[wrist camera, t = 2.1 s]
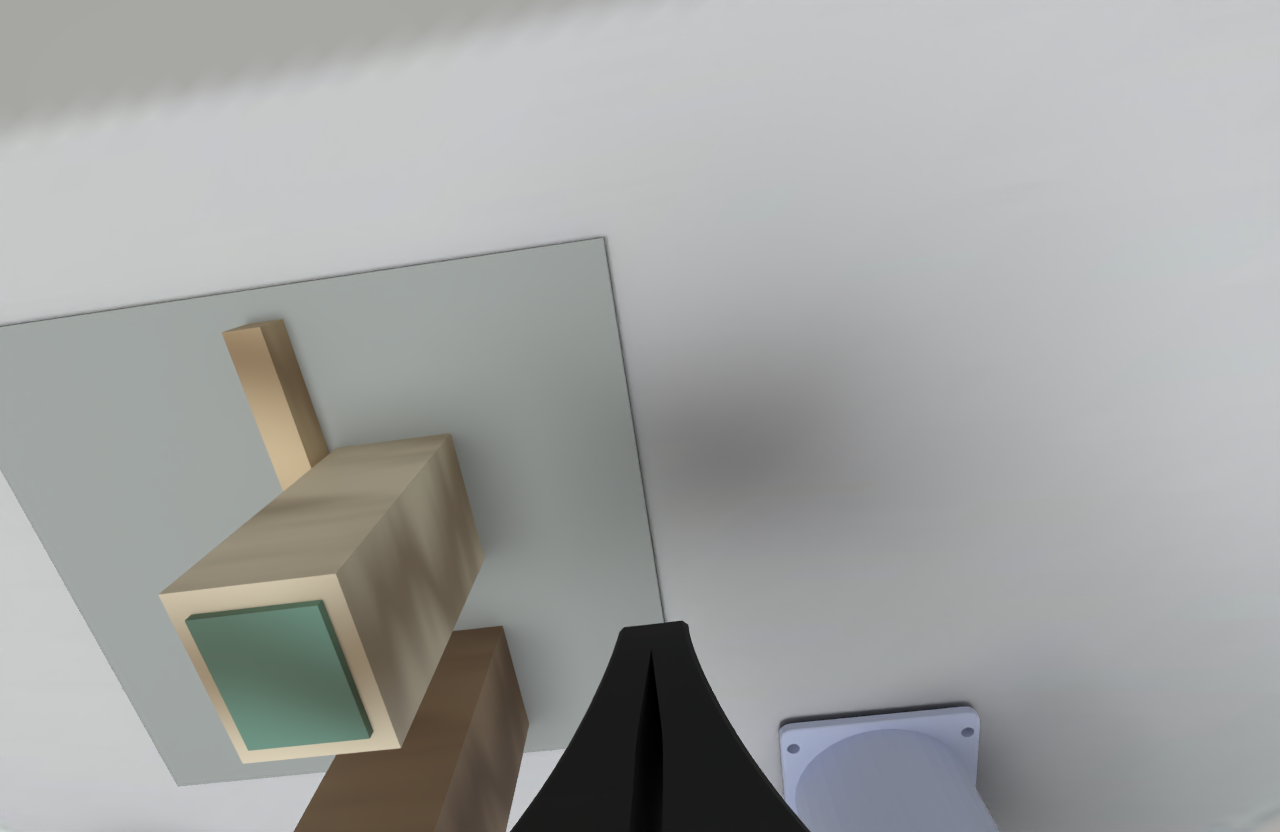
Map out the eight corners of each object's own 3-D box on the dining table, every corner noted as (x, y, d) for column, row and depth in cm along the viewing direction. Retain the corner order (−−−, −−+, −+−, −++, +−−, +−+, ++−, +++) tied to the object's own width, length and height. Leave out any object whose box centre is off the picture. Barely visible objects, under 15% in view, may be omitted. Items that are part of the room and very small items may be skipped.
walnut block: (529, 724, 25) (478, 955, 17) (434, 733, 25) (344, 965, 18) (502, 625, 23) (433, 834, 16) (401, 636, 23) (284, 847, 16)
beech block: (484, 559, 22) (397, 755, 14) (379, 571, 22) (237, 771, 15) (450, 432, 20) (331, 579, 13) (336, 447, 21) (150, 600, 13)
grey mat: (681, 729, 25) (681, 737, 25) (184, 777, 27) (177, 786, 26) (603, 237, 18) (602, 238, 18) (-60, 335, 20) (-73, 338, 19)
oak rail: (430, 743, 25) (420, 769, 24) (403, 746, 25) (391, 772, 24) (282, 318, 19) (259, 326, 18) (246, 324, 19) (221, 332, 18)
